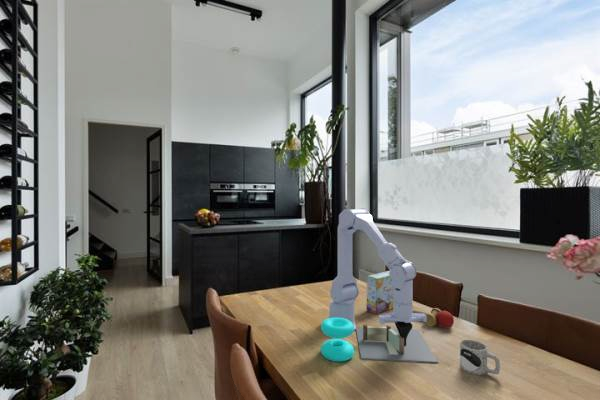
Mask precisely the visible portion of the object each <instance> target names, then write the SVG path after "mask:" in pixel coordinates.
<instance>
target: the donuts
mask: <svg viewBox="0 0 600 400" xmlns="http://www.w3.org/2000/svg"><path fill="white" fill-rule="evenodd" d="M320 330H321V331H322V333H323V335H325V336H327V337H330V339H327V340H326V341H324V342H323V343H322V344H321V346H320V347H321V348H320V352H321V355H322V356H323V357H324V358H325V359H327V360H328V361H332V362H346V361H349V360H350V359H352V357H353V356H354V354H355V349H354V347H353V345H352V344H351V342H349V341H347V340H345V338H348V337H350V336H351V335H352V334H353V333H354V331H355V330H354V325H353V323H352V322H351V321H349V320H347V319H344V318H338V317H334V318H329V317H328V318H326V319H324V320H323V321H321V324H320ZM331 338H332V339H331Z"/></svg>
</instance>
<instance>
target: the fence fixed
mask: <svg viewBox="0 0 600 400" xmlns="http://www.w3.org/2000/svg"><path fill="white" fill-rule="evenodd" d="M362 327H363V340H369V341H389V329H392V326H391V325H386V326H376V325H375V326H373V325H371V326H369V325H367V324H363V325H362Z"/></svg>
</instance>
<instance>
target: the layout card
mask: <svg viewBox="0 0 600 400" xmlns="http://www.w3.org/2000/svg"><path fill="white" fill-rule="evenodd" d="M392 329H393V330H394V331H395V332H396V333H397V334H398V335H399V332H398V330H397V328H392ZM355 332H356V337H357V342H358V343H357V344H358V347H359V348H358V349H359V353H360V354H359V355H360V359H361V360H366V361H367V360H369V361H370V360H371V361H387V362H388V361H389V362H391V361H392V362H411V363H425V364H427V363H428V364H439V360H438V359H437V357H436V355H435V353H434V352H433V351H432V349H431V348H430V346H429V345H428V343H427V342H426V339H425V338H424V337H423V335H422V333H421V332H420V330H419V329H413V328H412V329H411V330H410V332H409V334H408V336H407V339H406V346H404V353H403V354H402V353H399V351H398V350H397V349H396V348H395V347H394V346H393V345H392V344H391V343H390V342H389V341H369V340H363V326H362V327H360V326H356V330H355ZM399 336H400V335H399Z"/></svg>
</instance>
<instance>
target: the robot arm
mask: <svg viewBox="0 0 600 400" xmlns="http://www.w3.org/2000/svg"><path fill="white" fill-rule="evenodd" d="M357 230H358V231H359V230H360V231H363V232H364V234H366V235H367V237H368V238H369V239H370V240H371V241H372V242H373V244H374V245H375V246H376V247H377V255H378V256H379V257H380V259H381V260H382V261H383V263H384V264H385V266H386V267H387V268H388V269H389V270H388V271H390V272H389V275H390V278H391V279H392V285H393V308H392V309H393V310H392V311H393V312H392V313H386V314H381V315H380V314H379V315H378V322H379V323H380V324H381V325H384V324H387V323H388V324H390V323H394V324H395V327H396V329H397V330H398V332H399V335H400V336H401V337H403V338H404V346H406V339H407V336H408V334H409V332H410V330H411V329H413V323H412V322H423V323H425V322H427V316H426V315H425V314H424V313H413V310H414V309H413V308H414V307H413V303H414V302H413V283H414V282H413V281H414V280H413V279H415V278H416V276H417V268H416V266H415V264H414V263H413V262H412V261H409V260H407V259H406V258H405V257H403V255H402V254H401V253H400V252H399V250H398V246H397V245H396V244H393V243H392V242H387V240H386V239H385V237H384V235H383V234H382V233H381V231H380V230H379V228H378V226H377V225H376V223H375V222H374V221H373V215H372V214H370V212H369V210H368V209H366V208H355V209H354V208H353V209H352V208H351V209H350V208H345V209H343V210H342V211H341V212H340V213H339V215H338V225H337V276H336V277H335V278H334V279H333V280H332V281H331V288H330V292H329V294H330V298H331V300H330V301H329V316H328V318H334V317H338V318H344V319H347V320H349V321H351V322H352V323H353V325H354V331H356V327H357V326H356V320H355V302H357V301H356V300H357V299H356V298H358V297H359V294H360V293H359V292H360V290H359V286H358V280H357V278H356V277H354V275H353V269H354V268H353V235H354V233H355V232H356V231H357Z"/></svg>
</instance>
